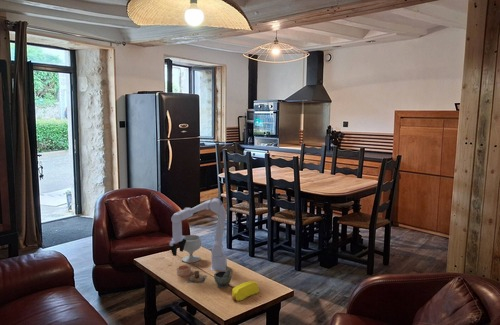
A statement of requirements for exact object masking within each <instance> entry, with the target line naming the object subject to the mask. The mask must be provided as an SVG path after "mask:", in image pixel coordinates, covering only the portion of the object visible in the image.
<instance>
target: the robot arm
mask: <svg viewBox="0 0 500 325" xmlns="http://www.w3.org/2000/svg"><path fill="white" fill-rule="evenodd" d="M202 210H206V211H207V210H208V211H209V210H210V211H211V212H214V213H215V215H217V224H216V228H215V229H216V230H215V236H214V242H213V244H212V249H211V251H210V252H211V254H210V257H211V267H210V271H218V272H220V271H227V268H228V260H227V259H228V257H227V256H228V255H227V254H224V253H223V247H224V246H223V236H224V230H225V225H226V217H227V211H226V208H225V206H224V204H223V202H222V200H221V199H220V198H218V197H213V198H212V199H207V200H206V201H204V202H201V203H200V204H197V205H196V206H194V207H192V208H191V207H184V208H183V209H182V210H178V211H177V212H175V213H173V215H172V216H171V218H170V219H171V220H170V221H171V222H172V227H171V228H172V237H171V241H169V244H168V248H170V251H171V254H172V256H174V257H176V256H177V253H178V252H177V251H178V249H179V252H184V246H185V243H186V240H184V239H185V236H186V235H183V225H182V221H185V220H187V219H188V218H191V217H193V215H194V214H195V213H198V212H200V211H202ZM176 244H178V245H176Z"/></svg>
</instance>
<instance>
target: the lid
mask: <svg viewBox="0 0 500 325" xmlns="http://www.w3.org/2000/svg"><path fill="white" fill-rule="evenodd" d="M191 275H192V276H189V277H190V278H189V277H188V279H190V281H191V282H201V281H203V280H204V276H205V275H204V274H200V271H199V270H195V271H194V274H191Z"/></svg>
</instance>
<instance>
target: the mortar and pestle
mask: <svg viewBox="0 0 500 325" xmlns="http://www.w3.org/2000/svg"><path fill="white" fill-rule="evenodd" d="M213 274H214V275H213V278H214V281H215V283H216V284H217V287H219V288H221V289H222V288H223V289H225V288H228V287H229V283H231V281H232V278H233V277H232V276H233V275H232V268H231V267H226V270H225V271H216V272H215V273H213Z"/></svg>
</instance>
